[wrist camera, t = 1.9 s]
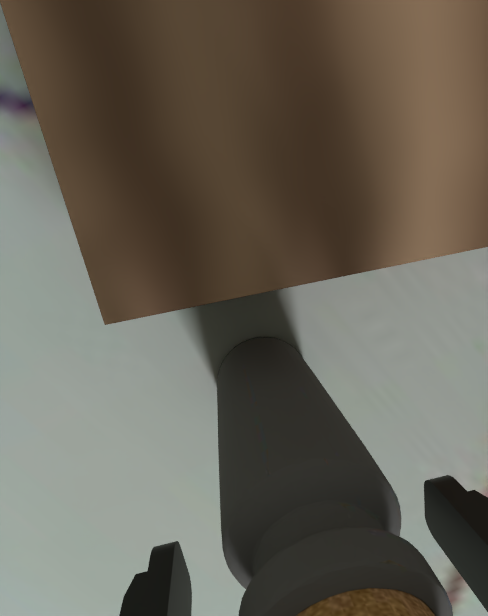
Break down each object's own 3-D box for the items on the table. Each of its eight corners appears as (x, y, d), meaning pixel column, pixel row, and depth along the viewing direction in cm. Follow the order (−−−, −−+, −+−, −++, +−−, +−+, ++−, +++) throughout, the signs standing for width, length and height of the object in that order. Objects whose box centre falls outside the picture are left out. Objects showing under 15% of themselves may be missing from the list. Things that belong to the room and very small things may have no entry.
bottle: (208, 345, 19) (195, 735, 4) (301, 328, 19) (577, 636, 5) (225, 426, 20) (256, 913, 6) (310, 409, 21) (539, 830, 6)
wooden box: (431, -86, 14) (577, -296, 9) (436, 233, 18) (539, 236, 13) (49, -30, 14) (-73, -221, 8) (140, 293, 18) (104, 324, 12)
